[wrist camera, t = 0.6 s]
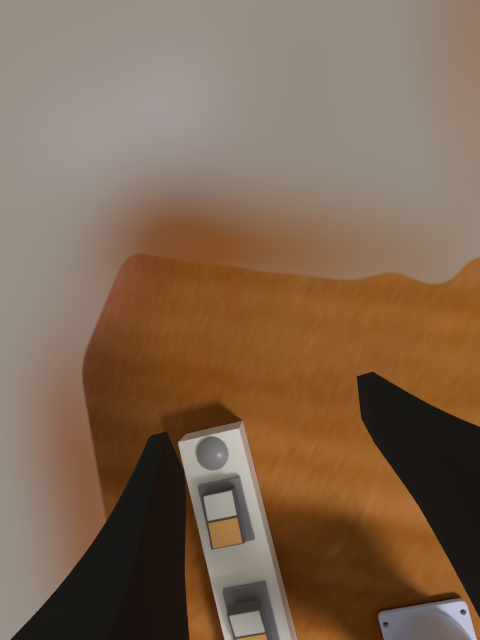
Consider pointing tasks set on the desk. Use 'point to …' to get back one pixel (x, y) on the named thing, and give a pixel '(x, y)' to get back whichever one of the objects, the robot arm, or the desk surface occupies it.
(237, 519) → the rocker
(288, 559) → the desk surface
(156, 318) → the desk surface
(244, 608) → the rocker
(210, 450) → the rocker switch panel
